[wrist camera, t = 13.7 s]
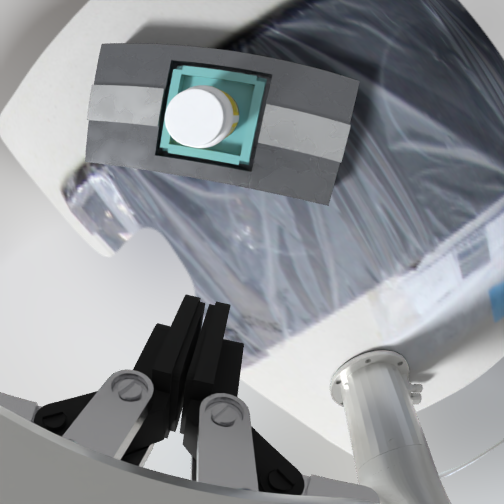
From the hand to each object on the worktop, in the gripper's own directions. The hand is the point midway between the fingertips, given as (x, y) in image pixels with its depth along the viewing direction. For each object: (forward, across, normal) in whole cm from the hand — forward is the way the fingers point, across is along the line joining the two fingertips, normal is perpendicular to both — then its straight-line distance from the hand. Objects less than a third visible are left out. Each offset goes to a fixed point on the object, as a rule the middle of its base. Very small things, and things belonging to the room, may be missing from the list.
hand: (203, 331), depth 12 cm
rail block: (+23, +5, -8) cm, 24 cm away
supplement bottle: (+20, +4, -7) cm, 22 cm away
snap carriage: (+22, +5, -7) cm, 23 cm away
